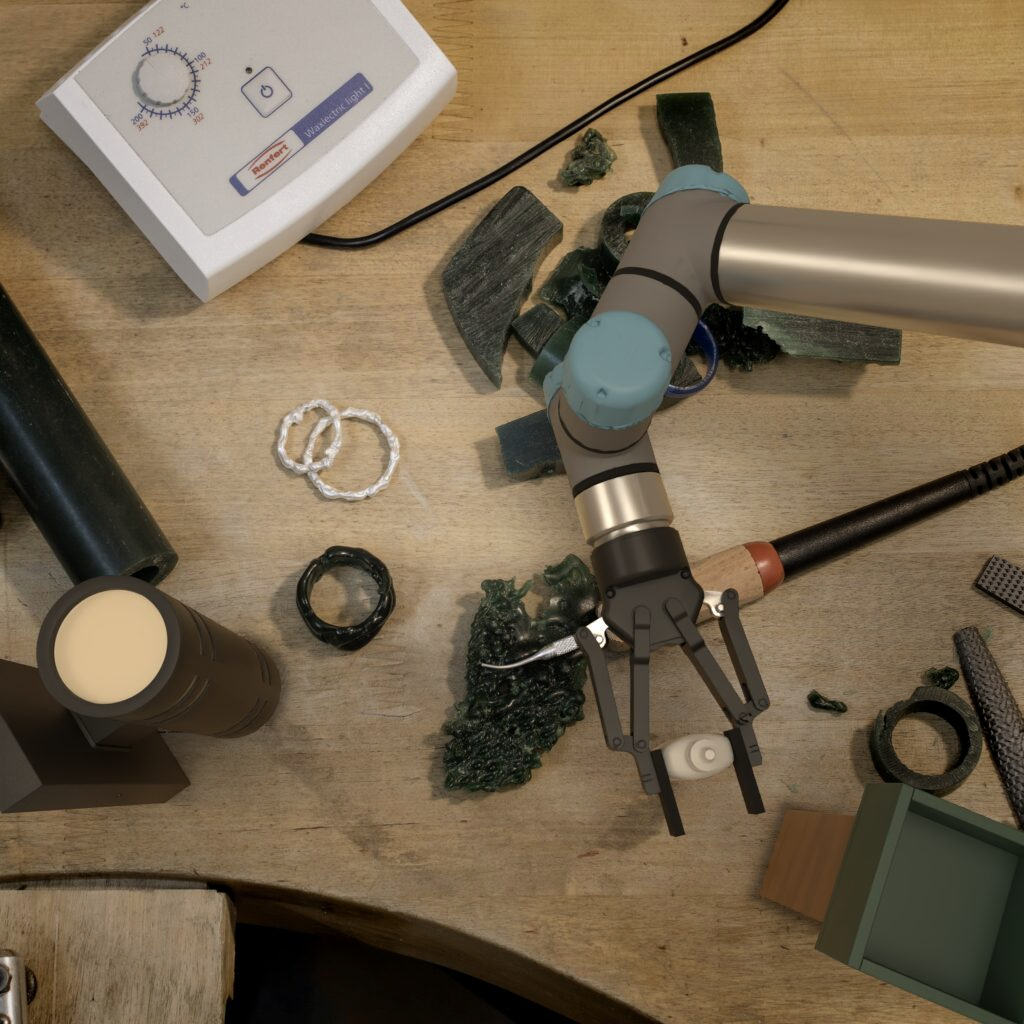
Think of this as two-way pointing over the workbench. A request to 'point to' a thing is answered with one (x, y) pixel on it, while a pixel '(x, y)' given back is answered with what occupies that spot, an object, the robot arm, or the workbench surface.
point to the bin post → (807, 860)
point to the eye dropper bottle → (696, 756)
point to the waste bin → (932, 903)
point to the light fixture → (122, 697)
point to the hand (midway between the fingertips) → (717, 823)
